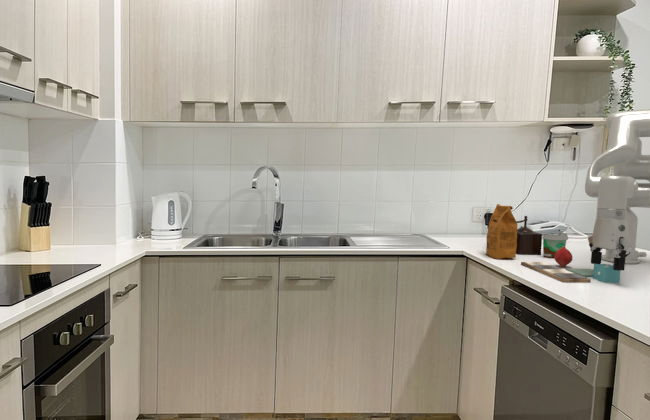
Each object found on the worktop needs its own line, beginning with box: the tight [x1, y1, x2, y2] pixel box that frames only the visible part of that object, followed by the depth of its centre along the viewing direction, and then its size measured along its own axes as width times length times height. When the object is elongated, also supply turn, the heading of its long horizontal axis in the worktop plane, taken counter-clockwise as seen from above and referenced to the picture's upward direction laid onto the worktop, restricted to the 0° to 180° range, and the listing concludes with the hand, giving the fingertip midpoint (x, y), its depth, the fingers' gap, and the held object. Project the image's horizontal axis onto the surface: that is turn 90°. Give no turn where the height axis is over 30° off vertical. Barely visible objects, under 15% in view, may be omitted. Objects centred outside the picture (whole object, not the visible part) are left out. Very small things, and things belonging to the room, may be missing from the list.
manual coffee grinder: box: [516, 215, 543, 256], centre depth 173 cm, size 16×11×18 cm
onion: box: [554, 246, 573, 268], centre depth 146 cm, size 6×6×8 cm
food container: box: [542, 231, 569, 260], centre depth 163 cm, size 12×6×10 cm, turn 118°
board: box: [520, 261, 592, 283], centre depth 137 cm, size 9×25×1 cm, turn 2°
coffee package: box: [485, 203, 519, 260], centre depth 162 cm, size 10×12×22 cm
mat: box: [565, 268, 594, 278], centre depth 136 cm, size 9×9×1 cm
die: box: [592, 263, 621, 284], centre depth 127 cm, size 5×5×5 cm
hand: (606, 266), depth 126 cm, fingers open, 9 cm apart
